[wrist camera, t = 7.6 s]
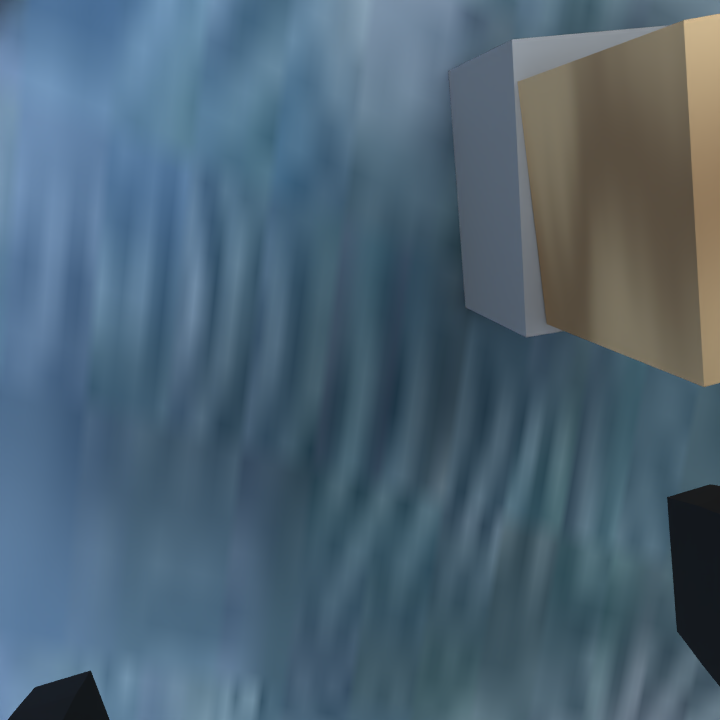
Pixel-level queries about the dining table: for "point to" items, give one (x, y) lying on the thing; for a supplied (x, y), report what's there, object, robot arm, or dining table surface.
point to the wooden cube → (632, 196)
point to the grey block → (506, 174)
